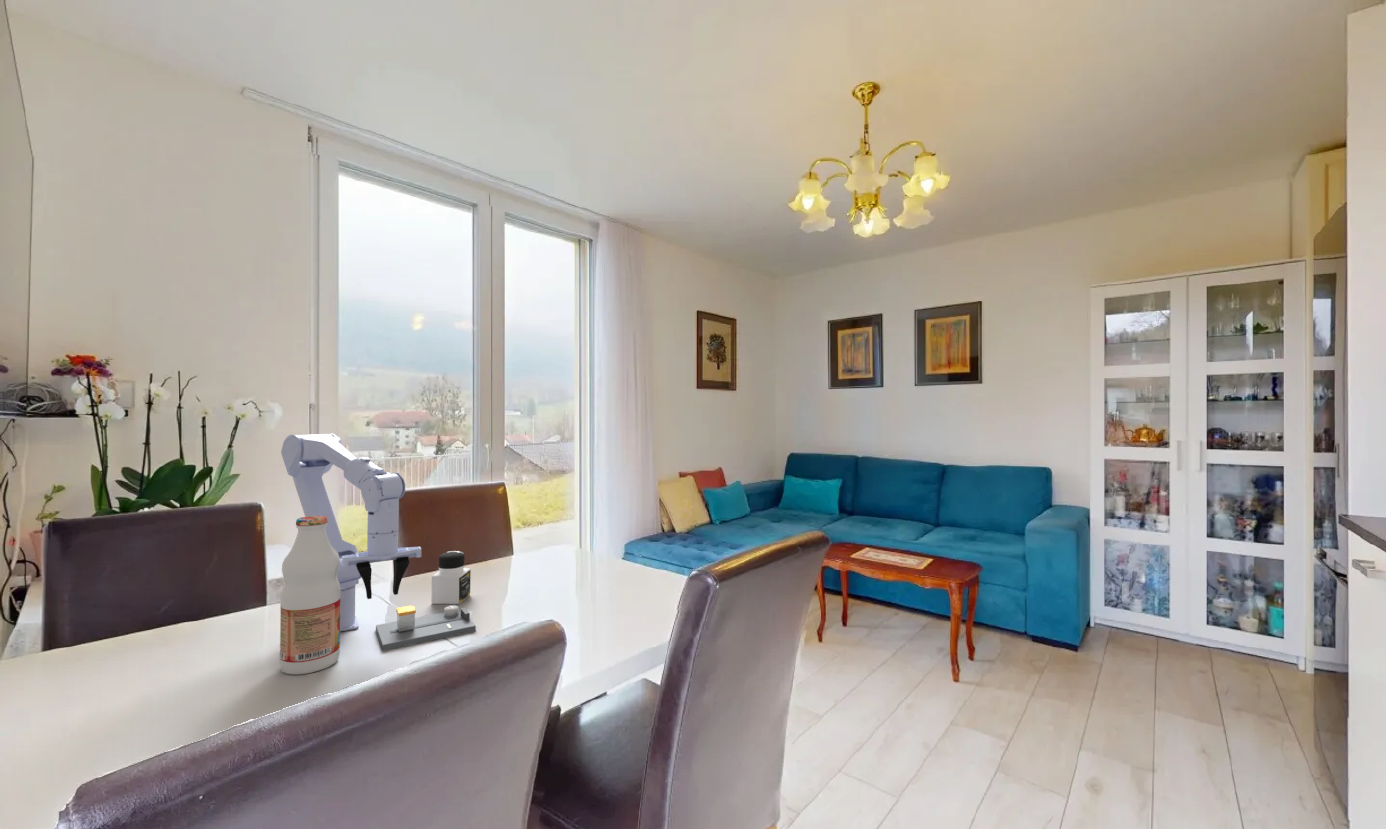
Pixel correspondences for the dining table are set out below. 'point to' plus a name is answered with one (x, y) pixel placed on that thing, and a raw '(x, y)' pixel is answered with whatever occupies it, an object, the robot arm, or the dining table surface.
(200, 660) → the dining table surface
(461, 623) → the console board
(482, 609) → the dining table surface
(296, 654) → the fruit juice
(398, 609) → the fader tab
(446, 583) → the medicine bottle
